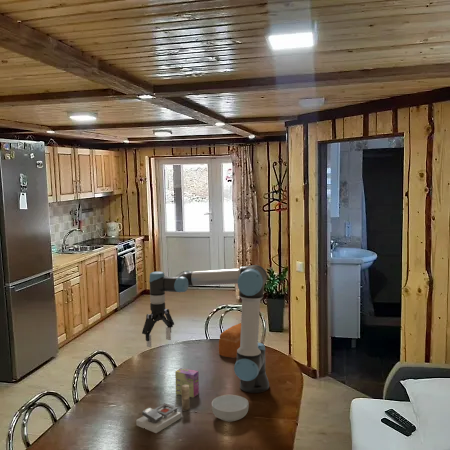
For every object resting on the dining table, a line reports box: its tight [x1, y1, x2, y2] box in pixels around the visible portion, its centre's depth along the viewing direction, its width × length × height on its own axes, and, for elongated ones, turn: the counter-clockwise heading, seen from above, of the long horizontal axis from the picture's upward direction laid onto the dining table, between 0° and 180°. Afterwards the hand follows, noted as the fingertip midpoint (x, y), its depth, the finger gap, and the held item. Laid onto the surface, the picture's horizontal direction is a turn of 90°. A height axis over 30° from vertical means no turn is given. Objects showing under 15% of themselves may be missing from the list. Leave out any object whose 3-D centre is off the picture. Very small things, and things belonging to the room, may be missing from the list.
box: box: [174, 367, 200, 398], centre depth 242 cm, size 10×6×12 cm, turn 65°
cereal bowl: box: [211, 394, 250, 422], centre depth 217 cm, size 17×17×7 cm
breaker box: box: [136, 403, 182, 434], centre depth 215 cm, size 12×16×4 cm
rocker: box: [141, 407, 163, 423], centre depth 212 cm, size 8×4×2 cm, turn 54°
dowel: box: [181, 385, 191, 411], centre depth 226 cm, size 4×4×11 cm
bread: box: [218, 322, 241, 359], centre depth 303 cm, size 14×26×16 cm, turn 148°
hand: (159, 343), depth 246 cm, fingers open, 13 cm apart
